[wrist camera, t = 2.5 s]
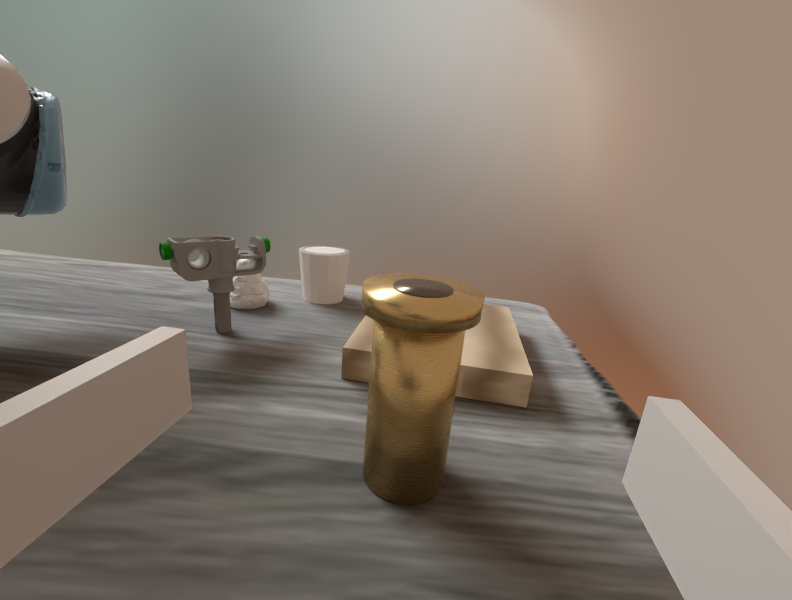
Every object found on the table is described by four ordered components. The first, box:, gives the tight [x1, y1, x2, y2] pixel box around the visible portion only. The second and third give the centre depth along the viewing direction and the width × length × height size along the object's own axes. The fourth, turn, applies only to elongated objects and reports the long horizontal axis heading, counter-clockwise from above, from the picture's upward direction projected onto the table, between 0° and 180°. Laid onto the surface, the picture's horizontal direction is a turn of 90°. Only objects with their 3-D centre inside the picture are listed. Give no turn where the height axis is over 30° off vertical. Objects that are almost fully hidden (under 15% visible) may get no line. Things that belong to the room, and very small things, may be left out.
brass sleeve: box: [361, 273, 484, 505], centre depth 23 cm, size 6×6×12 cm
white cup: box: [299, 245, 349, 304], centre depth 55 cm, size 7×7×7 cm
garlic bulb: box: [230, 259, 270, 309], centre depth 50 cm, size 6×6×5 cm
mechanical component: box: [159, 236, 270, 333], centre depth 41 cm, size 3×10×10 cm, turn 133°
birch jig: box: [341, 304, 533, 408], centre depth 42 cm, size 16×18×3 cm
